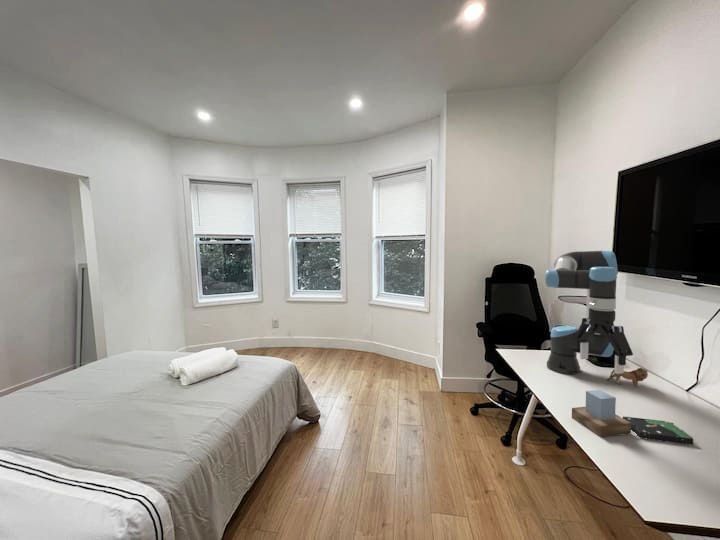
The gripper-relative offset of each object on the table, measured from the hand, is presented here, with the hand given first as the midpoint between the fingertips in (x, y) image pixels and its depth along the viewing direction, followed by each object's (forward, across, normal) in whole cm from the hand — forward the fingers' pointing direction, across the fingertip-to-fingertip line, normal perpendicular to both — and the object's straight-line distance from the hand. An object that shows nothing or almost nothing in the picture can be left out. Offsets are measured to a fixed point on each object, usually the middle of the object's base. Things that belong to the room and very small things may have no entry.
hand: (600, 365), depth 107 cm
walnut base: (+23, +1, 0) cm, 23 cm away
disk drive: (+23, +7, +15) cm, 29 cm away
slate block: (+19, +1, 0) cm, 19 cm away
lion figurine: (+23, -26, +43) cm, 55 cm away
